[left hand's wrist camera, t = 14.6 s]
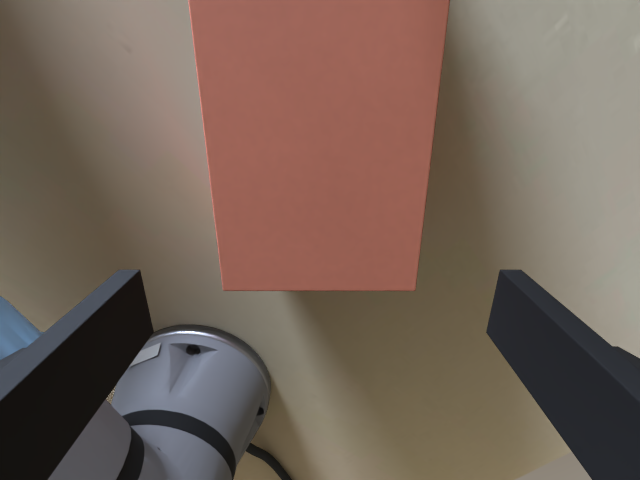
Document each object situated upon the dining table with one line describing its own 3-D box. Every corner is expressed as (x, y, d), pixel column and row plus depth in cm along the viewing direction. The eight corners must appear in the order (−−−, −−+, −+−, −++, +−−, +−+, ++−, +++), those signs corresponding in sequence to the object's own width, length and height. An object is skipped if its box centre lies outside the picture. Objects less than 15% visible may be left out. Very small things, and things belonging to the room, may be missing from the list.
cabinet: (237, -4, 24) (178, -79, 14) (401, -4, 24) (459, -79, 14) (254, 229, 31) (222, 291, 20) (384, 229, 30) (415, 291, 20)
